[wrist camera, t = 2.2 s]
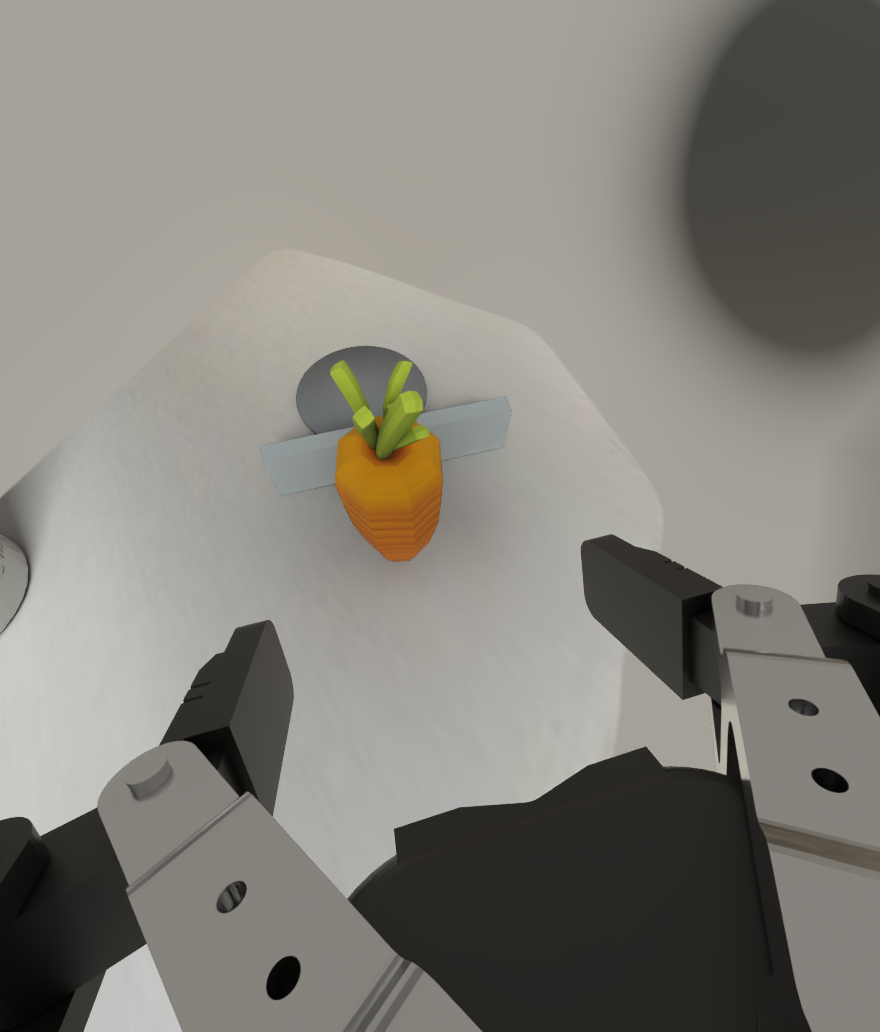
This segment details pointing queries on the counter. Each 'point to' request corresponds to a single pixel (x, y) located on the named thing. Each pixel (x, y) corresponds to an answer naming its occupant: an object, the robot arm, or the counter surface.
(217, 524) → the counter surface
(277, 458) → the low wall
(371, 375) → the rest mat
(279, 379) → the counter surface
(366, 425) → the carrot
